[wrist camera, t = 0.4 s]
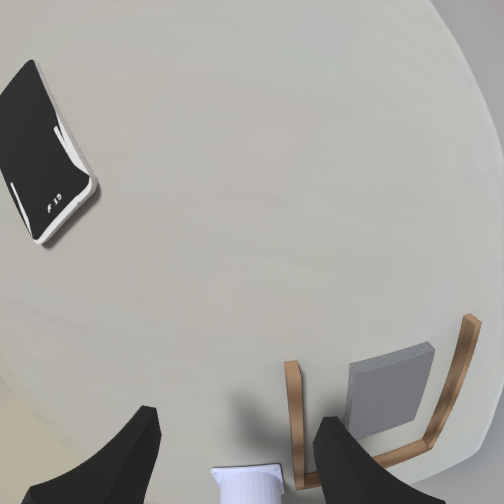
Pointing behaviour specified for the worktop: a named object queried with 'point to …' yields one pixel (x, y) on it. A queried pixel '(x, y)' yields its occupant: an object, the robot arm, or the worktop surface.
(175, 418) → the worktop surface
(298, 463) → the walnut u-shaped frame
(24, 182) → the smartphone
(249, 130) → the worktop surface
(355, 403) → the cover plate
